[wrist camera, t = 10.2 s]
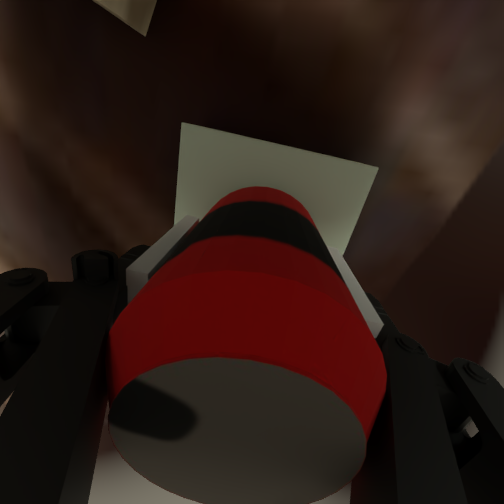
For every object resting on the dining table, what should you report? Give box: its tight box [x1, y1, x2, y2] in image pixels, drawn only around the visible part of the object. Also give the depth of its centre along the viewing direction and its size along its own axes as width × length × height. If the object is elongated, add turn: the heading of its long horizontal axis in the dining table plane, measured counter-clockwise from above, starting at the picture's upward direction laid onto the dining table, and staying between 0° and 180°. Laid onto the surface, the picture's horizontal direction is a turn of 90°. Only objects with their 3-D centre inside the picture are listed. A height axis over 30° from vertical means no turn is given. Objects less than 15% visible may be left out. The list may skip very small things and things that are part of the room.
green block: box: [174, 122, 379, 256], centre depth 19 cm, size 12×12×5 cm
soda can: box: [105, 186, 387, 504], centre depth 11 cm, size 8×8×12 cm
